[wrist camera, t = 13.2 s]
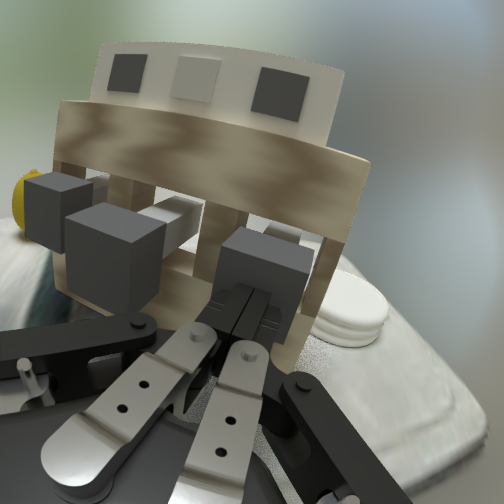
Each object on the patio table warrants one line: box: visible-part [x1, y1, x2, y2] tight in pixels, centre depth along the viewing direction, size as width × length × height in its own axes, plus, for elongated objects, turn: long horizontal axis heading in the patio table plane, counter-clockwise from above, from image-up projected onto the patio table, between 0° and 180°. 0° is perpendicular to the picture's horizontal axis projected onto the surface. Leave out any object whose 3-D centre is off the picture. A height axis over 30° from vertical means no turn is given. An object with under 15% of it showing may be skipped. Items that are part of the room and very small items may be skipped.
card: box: [89, 42, 345, 147], centre depth 16 cm, size 16×1×4 cm, turn 75°
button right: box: [210, 220, 314, 345], centre depth 19 cm, size 4×10×4 cm, turn 165°
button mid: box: [65, 196, 203, 315], centre depth 18 cm, size 4×10×4 cm, turn 165°
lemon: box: [12, 170, 43, 231], centre depth 29 cm, size 6×6×8 cm
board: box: [53, 101, 371, 375], centre depth 22 cm, size 21×6×16 cm, turn 75°
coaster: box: [304, 268, 389, 347], centre depth 31 cm, size 10×10×4 cm
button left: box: [24, 172, 110, 255], centre depth 21 cm, size 4×10×4 cm, turn 165°
